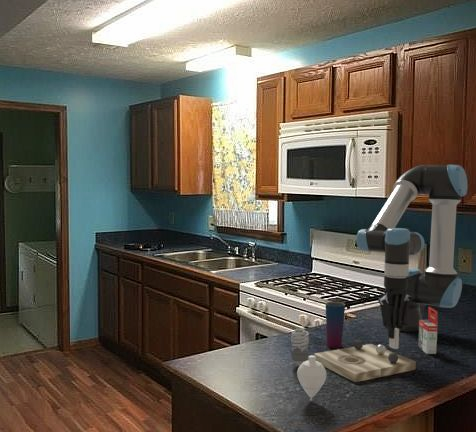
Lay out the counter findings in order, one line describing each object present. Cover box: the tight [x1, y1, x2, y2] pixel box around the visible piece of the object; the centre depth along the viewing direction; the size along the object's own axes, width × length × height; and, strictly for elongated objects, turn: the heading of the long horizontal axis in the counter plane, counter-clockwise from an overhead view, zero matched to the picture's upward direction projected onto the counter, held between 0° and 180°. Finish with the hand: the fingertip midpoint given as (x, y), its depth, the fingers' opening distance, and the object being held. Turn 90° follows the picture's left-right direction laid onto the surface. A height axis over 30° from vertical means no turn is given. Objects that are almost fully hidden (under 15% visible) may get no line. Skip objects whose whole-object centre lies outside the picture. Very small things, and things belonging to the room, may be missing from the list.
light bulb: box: [290, 328, 310, 367], centre depth 166 cm, size 6×6×12 cm
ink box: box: [417, 306, 439, 355], centre depth 184 cm, size 4×8×15 cm, turn 2°
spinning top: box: [296, 354, 327, 402], centre depth 141 cm, size 8×8×12 cm
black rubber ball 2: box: [388, 352, 399, 363], centre depth 164 cm, size 3×3×3 cm
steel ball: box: [376, 344, 387, 355], centre depth 172 cm, size 3×3×3 cm
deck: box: [313, 343, 417, 383], centre depth 169 cm, size 24×20×2 cm
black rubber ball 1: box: [353, 339, 364, 349], centre depth 177 cm, size 3×3×3 cm
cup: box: [325, 301, 346, 349], centre depth 188 cm, size 7×7×15 cm
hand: (393, 347), depth 174 cm, fingers closed
